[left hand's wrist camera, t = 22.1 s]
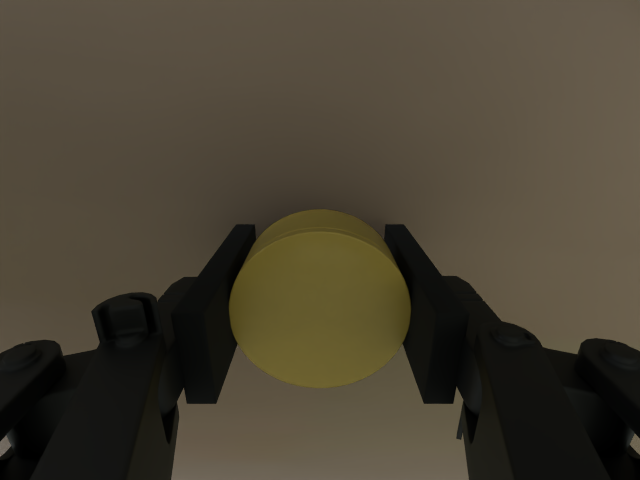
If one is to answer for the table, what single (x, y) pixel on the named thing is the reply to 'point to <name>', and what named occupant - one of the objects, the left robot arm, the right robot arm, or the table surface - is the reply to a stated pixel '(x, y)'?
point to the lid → (319, 300)
